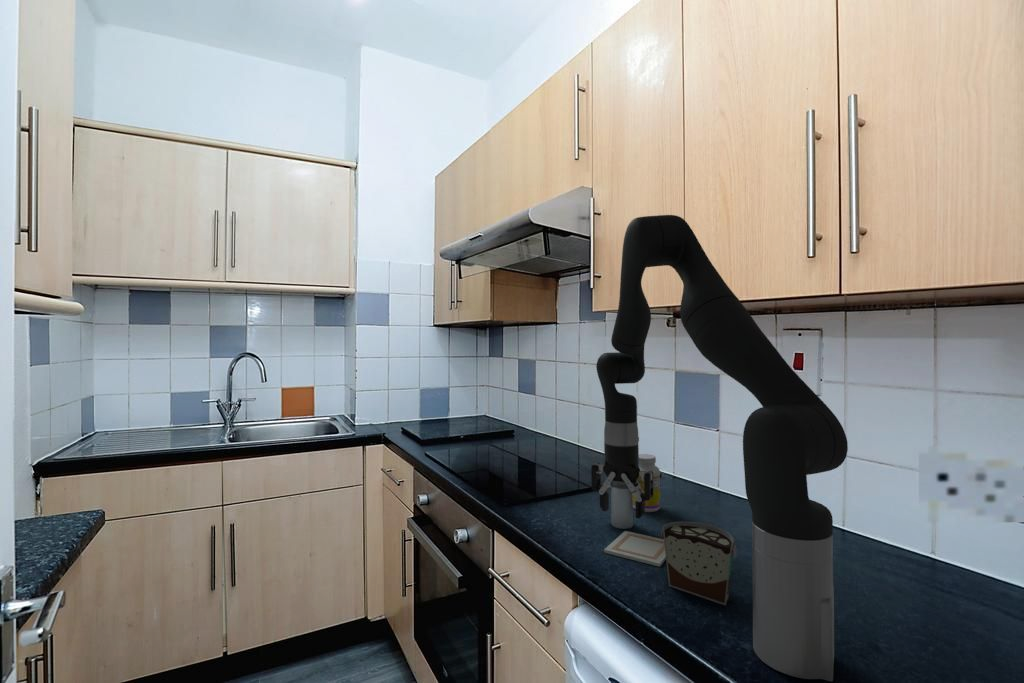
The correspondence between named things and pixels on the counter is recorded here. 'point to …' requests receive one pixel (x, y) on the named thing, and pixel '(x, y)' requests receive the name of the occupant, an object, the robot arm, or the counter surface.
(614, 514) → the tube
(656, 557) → the card
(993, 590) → the counter surface
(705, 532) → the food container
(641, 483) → the supplement bottle
